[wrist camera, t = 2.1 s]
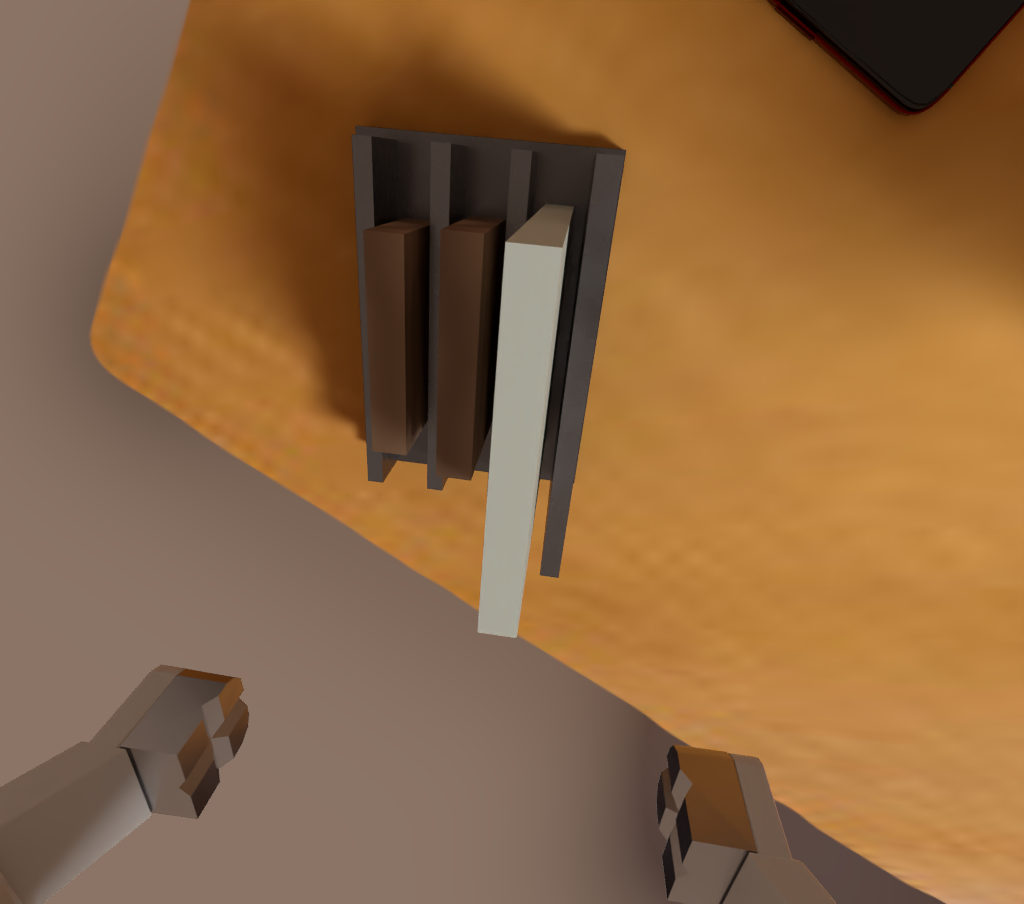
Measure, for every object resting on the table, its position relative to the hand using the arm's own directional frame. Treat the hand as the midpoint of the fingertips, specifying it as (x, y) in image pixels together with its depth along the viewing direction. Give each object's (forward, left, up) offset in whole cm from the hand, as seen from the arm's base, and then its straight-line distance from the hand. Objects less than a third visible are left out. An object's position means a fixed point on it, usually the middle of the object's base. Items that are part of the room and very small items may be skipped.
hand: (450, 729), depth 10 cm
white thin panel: (0, 0, -28) cm, 28 cm away
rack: (+4, 0, -29) cm, 29 cm away
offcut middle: (+4, 0, -28) cm, 28 cm away
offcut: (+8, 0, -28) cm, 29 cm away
